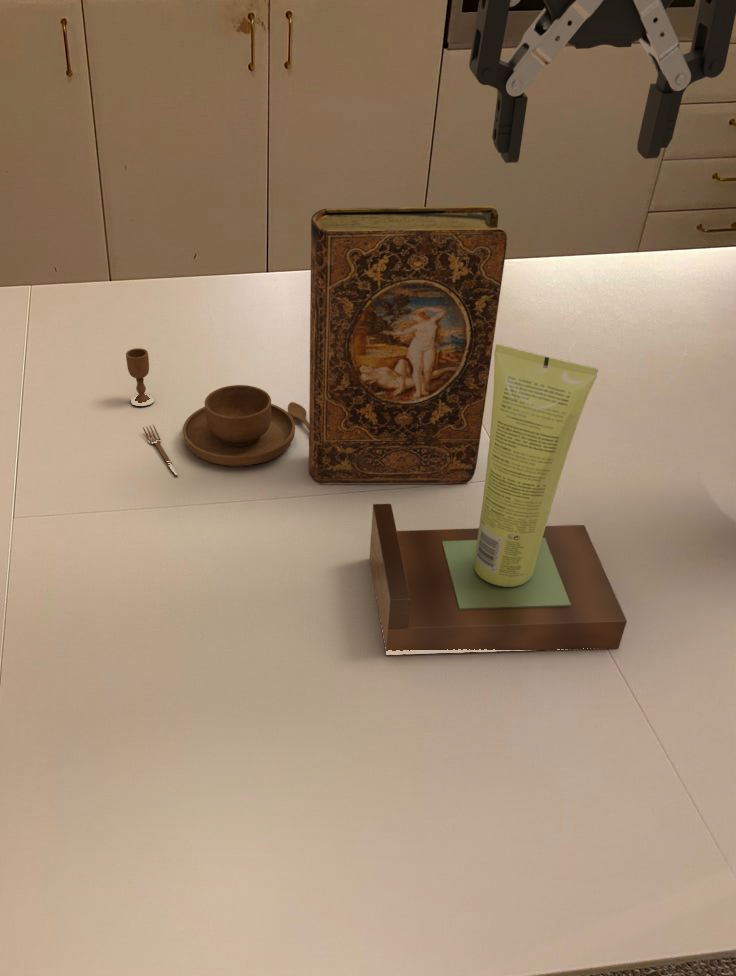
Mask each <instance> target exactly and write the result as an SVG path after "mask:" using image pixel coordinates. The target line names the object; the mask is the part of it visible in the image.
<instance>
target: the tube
mask: <svg viewBox="0 0 736 976" xmlns="http://www.w3.org/2000/svg"><path fill="white" fill-rule="evenodd" d="M493 353H494V355H493V356H494V357H493V358H494V363H493V365H494V368H493V370H494V371H493V372H494V373H493V393H492V407H491V408H492V409H491V420H490V433H489V441H488V442H489V443H488V452H487V461H486V470H485V480H484V487H483V488H484V489H483V496H482V504H481V511H480V518H479V524H478V525H479V526H478V528H479V532H478V539H477V546H476V552H475V560H474V569H475V571H476V573H477V574H478V575H479V576H480V577H481V578H482V579H483V580H485V581H487V582H489V583H491V584H494V585H498V586H503V587H514V586H519V585H522V584H524V583H526V582H527V581H529V580H530V578H531V577H532V575H533V571H534V568H535V564H536V560H537V556H538V553H539V549H540V545H541V542H542V538H543V534H544V531H545V527H546V526H547V523H548V520H549V516H550V512H551V509H552V506H553V503H554V499H555V495H556V492H557V489H558V486H559V482H560V479H561V476H562V473H563V469H564V466H565V462H566V460H567V456H568V453H569V451H570V447H571V445H572V442H573V438H574V435H575V432H576V431H577V427H578V424H579V421H580V418H581V417H582V412H583V411H584V410H583V409H584V407H585V405H586V402H587V399H588V396H589V394H590V392H591V390H592V387H593V385H594V384H595V381H596V379H597V377H598V373H599V367H596V366H590V365H587V364H582V363H578V362H573V361H570V360H565V359H562V358H556V357H553V356H549V355H548V356H547V355H544V354H540V353H536V352H532V351H528V350H523V349H520V348H516V347H512V346H509V345H504V344H501V343H495V348H494V352H493Z"/></svg>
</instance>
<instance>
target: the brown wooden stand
mask: <svg viewBox="0 0 736 976" xmlns="http://www.w3.org/2000/svg"><path fill="white" fill-rule="evenodd" d="M371 515H372V516H371V527H370V528H371V529H370V531H371V532H370V543H369V564H370V570H371V575H372V581H374V582H373V587H374V586H375V588H374V592H375V591H376V594H375V598H376V597H377V600H376V604H377V603H378V606H377V610H378V609H379V612H378V615H379V614H380V618H379V621H380V620H381V624H380V626H381V625H382V630H383V636H384V641H385V647H386V651H388V650H392V651H396V650H400V651H403V650H409V651H410V650H447V649H448V650H453V649H455V650H458V649H461V650H463V649H467V650H469V649H470V650H474V649H475V650H479V649H481V650H484V649H487V650H493V649H495V650H557V649H560V650H559V651H562V650H561V649H564V650H563V651H566V650H565V649H568V650H567V651H570V650H569V649H572V650H571V651H574V650H573V649H583V648H584V649H587V648H588V650H607V649H606V648H609V649H608V650H612V649H611V648H618V649H620V645H621V642H622V638H623V636H624V632H625V629H626V625H627V623H628V622H627V621H628V620H627V619H626V616H625V613H624V611H623V609H622V607H621V605H620V603H619V601H618V598H617V596H616V593H615V591H614V589H613V587H612V584H611V582H610V580H609V578H608V575H607V573H606V571H605V568H604V567H603V566H604V565H603V564H602V562H601V560H600V557H599V555H598V553H597V550H596V548H595V547H594V544H593V542H592V540H591V537H590V535H589V532H588V529H586V528H587V527H586V526H585V524H569V525H567V524H566V525H565V524H564V525H546V527H545V531H544V534H543V538H542V542H541V545H540V549H539V553H538V556H537V560H536V564H535V568H534V571H533V575H532V577H531V578H530V580H529V581H527V582H526V583H524V584H522V585H519V586H514V587H503V586H498V585H494V584H491V583H489V582H487V581H485V580H483V579H482V578H481V577H480V576H479V575H478V574H477V573H476V571H475V569H474V560H475V552H476V546H477V539H478V532H479V527H475V528H474V527H473V528H448V529H445V528H444V529H420V530H419V529H417V530H416V529H415V530H413V529H412V530H397V525H396V521H395V516H394V511H393V507H392V503H373V504H372V514H371ZM590 648H591V649H590ZM594 648H595V649H594ZM597 648H599V649H597ZM601 648H602V649H601ZM604 648H605V649H604ZM557 651H558V650H557Z"/></svg>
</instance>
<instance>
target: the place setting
mask: <svg viewBox="0 0 736 976" xmlns="http://www.w3.org/2000/svg"><path fill="white" fill-rule="evenodd" d="M125 359H126V360H125V361H126V367H127V370H128V373H129V375H130V377H132V378H133V379H135V381H136V388H135V389H136V392H137V393H138V394H139V395H138V394H137V395H138V396H137V397H136V399H135V401H138V403H142V402H146V401H147V400H149V399H150V398H149V397H148V396H147V395H145V394H146V393H145V392H146V390H147V388H146V384H145V382H144V381H145V378H146V377H147V376H148V374H149V372H150V359H149V353H148V350H147V349H144V348H139V347H138V348H137V347H135V348H131V349H129V350H127V351H126V352H125ZM294 419H296V420H298V421H301V422H302V423H303V424H304V425H305V427H306V428H307V430H308V431H309V420H307V410H306V409H305V407H304V406H303V405H300V404H298V403H296V402H293V401H291V402H289V403H288V405H287V411H286V410H285V409H284V408H282V407H280V406H278V405H276V404H274V403H272V398H271V395H270V394H269V393H268V392H267V391H265V390H264V389H261V388H259V387H256V386H253V385H248V384H233V385H227V386H222V387H220V388H217V389H214V390H213V391H212V392H210V393H209V394H208V395H207V396H206V397H205V399H204V406H202V407H201V408H199V409H197V410H195V411H194V412H192V414H191V415H189V416H188V417H187V418H186V420H185V421H184V423H183V426H182V436H183V441H184V442H185V444H186V446H187V448H188V449H189V450H190V451H191V452H192V453H193V454H194V455H195V456H197V457H199V459H202V460H204V461H206V462H209V463H212V464H217V465H221V466H228V467H246V466H253V465H258V464H261V463H265V462H267V461H270V460H272V459H274V458H277V457H278V456H280V455H281V454H282V453H284V451H286V450H287V449H288V448H289V447H290V445H292V442H293V440H294V437H295V433H296V422H295V420H294ZM148 426H149V427H148ZM148 426H147V425H146V429H145V427H144V426H142V429H143V432H144V434H145V436H146V439H147V441H148V440H150V441H151V442H154V441H156V440H159V439H161V436H160V435H159V433H158V431H157V429H156V426H155V425H154V424H152V426H151V425H150V424H149V425H148ZM152 427H153V428H152ZM153 429H154V430H153ZM151 438H152V439H151ZM156 438H157V439H156ZM158 438H159V439H158ZM152 440H154V441H152ZM153 444H155V445H154V446H156V448H157V450H158V451H159V453H160V455H161V457H162V458H163V457H164V458H163V460H164V459H165V460H164V462H165V461H171V459H170V458H169V456H168V454H167V453H166V451H165V449H164V448H163V447H162V444H161V442H160V441H157V443H153ZM153 444H152V445H153ZM169 459H170V460H169ZM167 463H171V464H173V463H172V461H171V462H167ZM168 465H170V464H168ZM168 465H167V466H168Z"/></svg>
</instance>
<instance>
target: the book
mask: <svg viewBox="0 0 736 976" xmlns="http://www.w3.org/2000/svg"><path fill="white" fill-rule="evenodd" d="M498 224H499V213H498V210H497V208H496V207H495V206H493V205H475V206H474V205H473V206H470V205H469V206H468V205H467V206H466V205H465V206H406V207H405V206H403V207H401V206H399V207H396V206H395V207H336V208H333V207H332V208H323V209H319V210H318V211H316V212H314V213H313V215H312V216H311V219H310V292H309V293H310V297H309V298H310V302H309V303H310V305H309V308H310V309H309V311H310V312H309V314H310V315H309V406H308V407H309V408H308V410H309V411H308V412H309V413H308V415H309V416H308V417H309V418H308V422H309V430H308V432H309V433H308V474H309V476H310V478H311V480H313V481H314V482H315V483H316V484H319V485H443V484H444V485H445V484H446V485H447V484H466V483H469V482H470V481H471V480H472V479H473V477H474V475H475V472H476V469H477V465H478V464H477V463H478V457H479V450H480V444H481V435H482V429H483V421H484V414H485V408H486V407H485V405H486V399H487V392H488V384H489V383H488V382H489V378H490V371H491V362H492V355H493V348H494V341H495V334H496V327H497V320H498V312H499V304H500V297H501V296H500V295H501V289H502V282H503V275H504V268H505V261H506V253H507V245H508V237H507V236H508V235H507V233H506V230H505V229H504V228H502V227H498Z"/></svg>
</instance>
